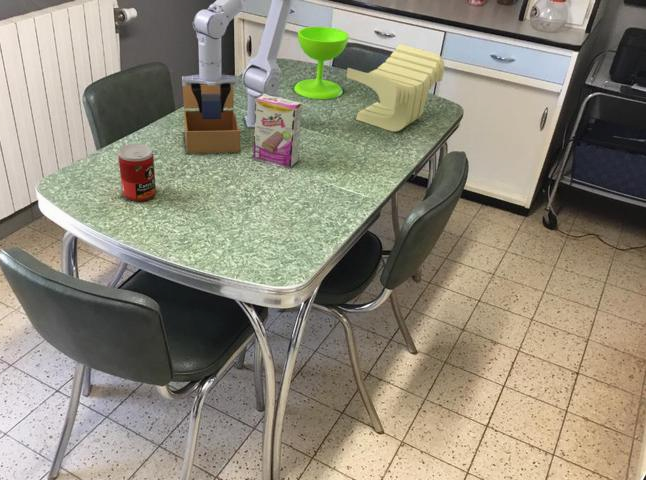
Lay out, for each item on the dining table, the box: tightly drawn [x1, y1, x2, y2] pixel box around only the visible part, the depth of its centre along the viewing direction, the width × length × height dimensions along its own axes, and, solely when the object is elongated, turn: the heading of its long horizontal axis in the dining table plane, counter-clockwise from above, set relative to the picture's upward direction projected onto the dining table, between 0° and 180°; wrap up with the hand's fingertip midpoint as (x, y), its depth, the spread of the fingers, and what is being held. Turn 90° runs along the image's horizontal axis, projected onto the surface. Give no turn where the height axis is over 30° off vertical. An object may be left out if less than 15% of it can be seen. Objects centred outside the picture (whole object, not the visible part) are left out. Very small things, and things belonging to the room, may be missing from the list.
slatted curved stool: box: [346, 43, 445, 133], centre depth 188 cm, size 30×16×18 cm, turn 144°
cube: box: [201, 94, 221, 119], centre depth 170 cm, size 5×5×5 cm
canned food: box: [117, 143, 157, 202], centre depth 148 cm, size 8×8×11 cm
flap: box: [182, 85, 235, 109], centre depth 176 cm, size 7×14×1 cm
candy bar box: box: [253, 94, 303, 168], centre depth 164 cm, size 11×5×16 cm, turn 65°
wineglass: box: [293, 26, 350, 100], centre depth 205 cm, size 16×16×18 cm
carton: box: [183, 109, 241, 154], centre depth 173 cm, size 14×14×6 cm
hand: (210, 111), depth 171 cm, fingers closed on cube, 5 cm apart
